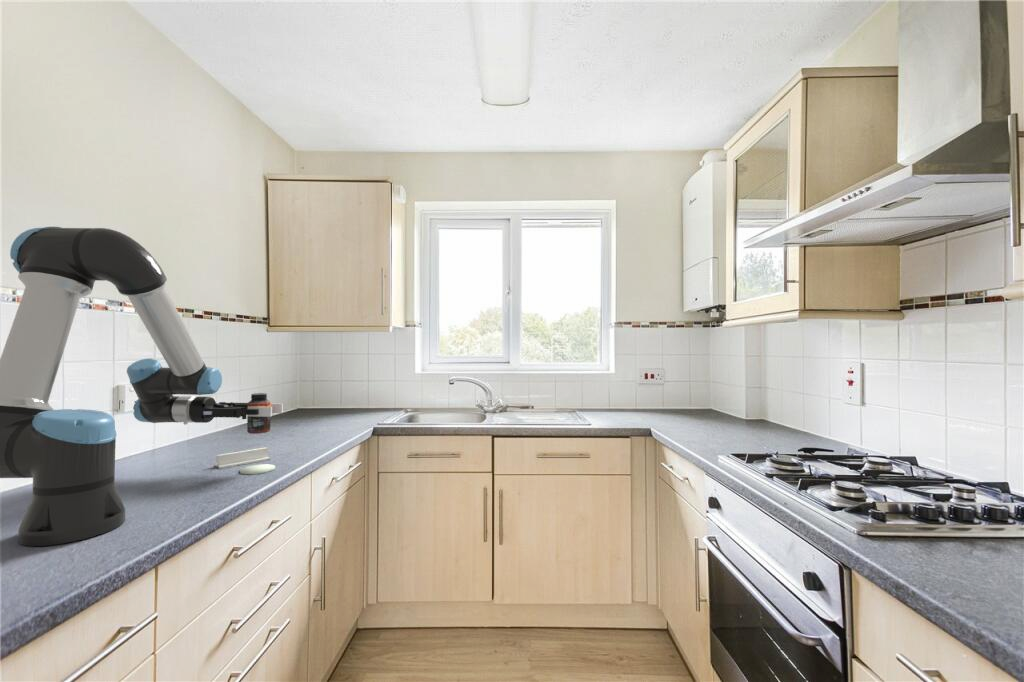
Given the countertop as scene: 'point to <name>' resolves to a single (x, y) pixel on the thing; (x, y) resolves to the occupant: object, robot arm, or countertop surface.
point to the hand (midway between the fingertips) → (276, 409)
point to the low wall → (242, 458)
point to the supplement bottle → (258, 423)
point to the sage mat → (257, 469)
